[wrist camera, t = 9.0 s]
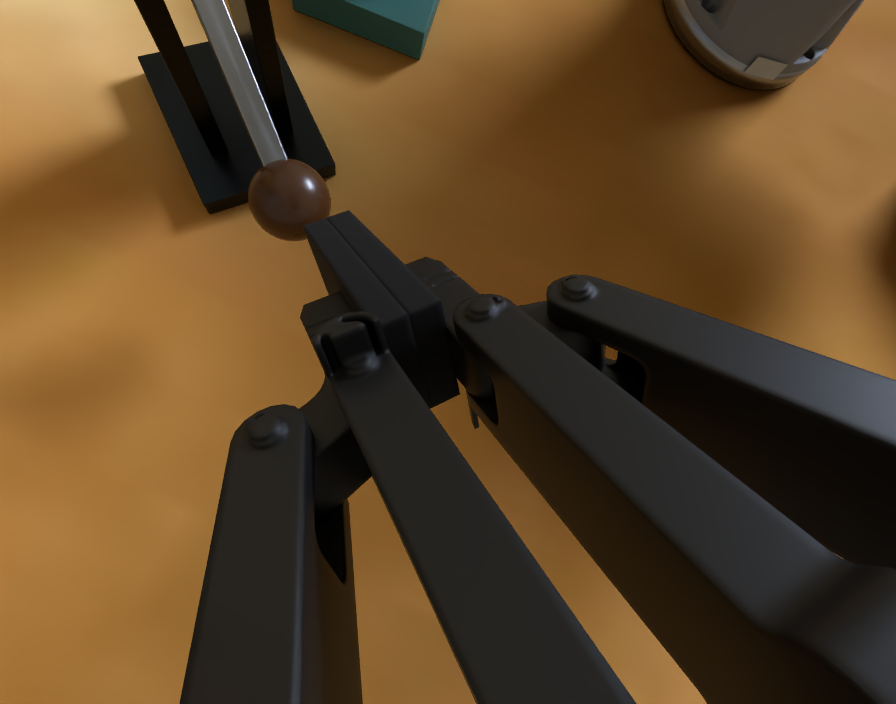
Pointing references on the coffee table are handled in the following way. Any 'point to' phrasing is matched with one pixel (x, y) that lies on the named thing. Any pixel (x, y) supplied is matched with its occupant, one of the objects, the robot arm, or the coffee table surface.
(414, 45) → the button box
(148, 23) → the bracket
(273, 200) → the lever
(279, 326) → the coffee table surface
